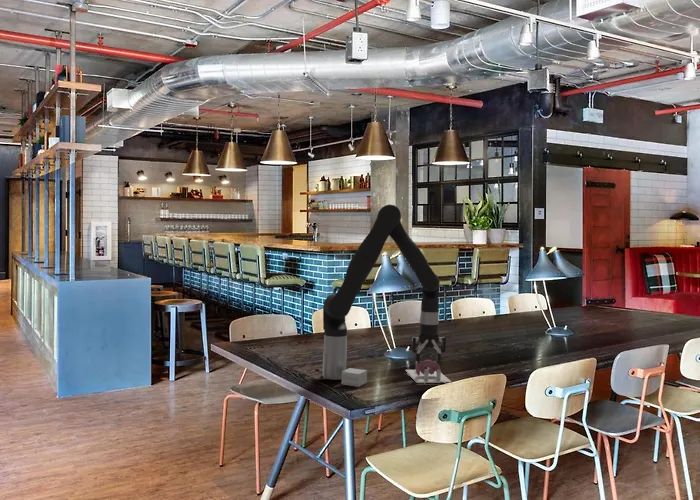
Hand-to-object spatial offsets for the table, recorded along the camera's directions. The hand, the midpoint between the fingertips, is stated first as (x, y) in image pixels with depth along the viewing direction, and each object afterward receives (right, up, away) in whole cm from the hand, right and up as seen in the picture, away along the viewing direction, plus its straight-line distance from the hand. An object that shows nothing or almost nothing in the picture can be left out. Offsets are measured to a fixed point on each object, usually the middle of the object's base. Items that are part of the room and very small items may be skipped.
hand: (427, 362), depth 258 cm
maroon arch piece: (0, -5, -1) cm, 5 cm away
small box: (-30, -7, -11) cm, 33 cm away
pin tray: (0, -6, 0) cm, 6 cm away
